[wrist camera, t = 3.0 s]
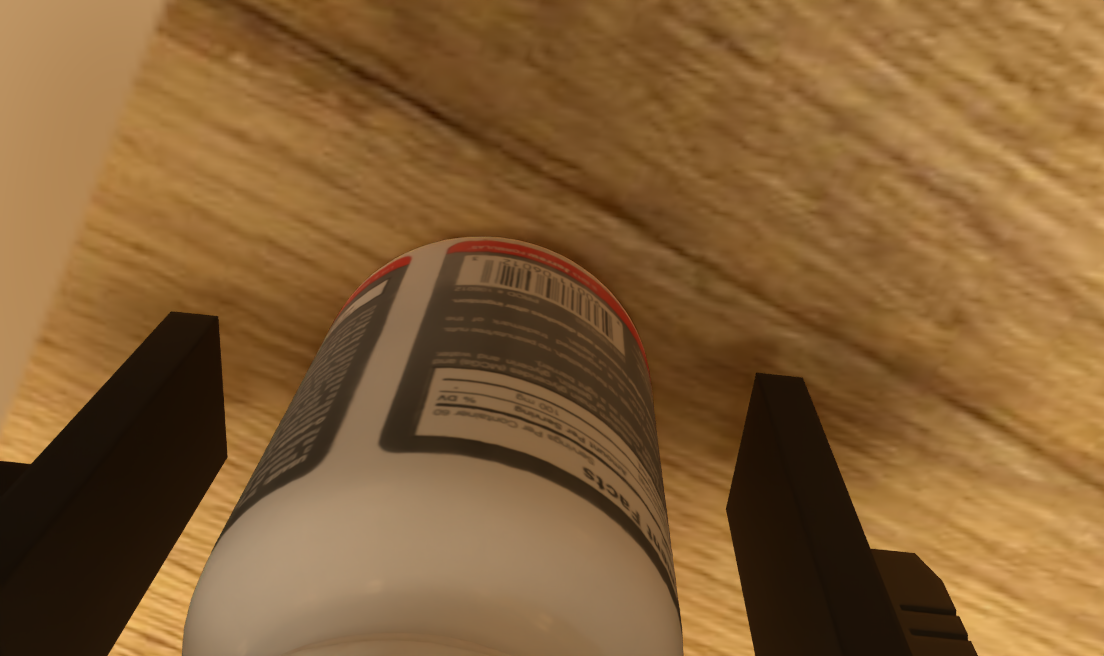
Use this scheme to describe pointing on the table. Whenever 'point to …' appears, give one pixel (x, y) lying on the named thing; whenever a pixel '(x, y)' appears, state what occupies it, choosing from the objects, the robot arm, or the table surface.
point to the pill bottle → (456, 477)
